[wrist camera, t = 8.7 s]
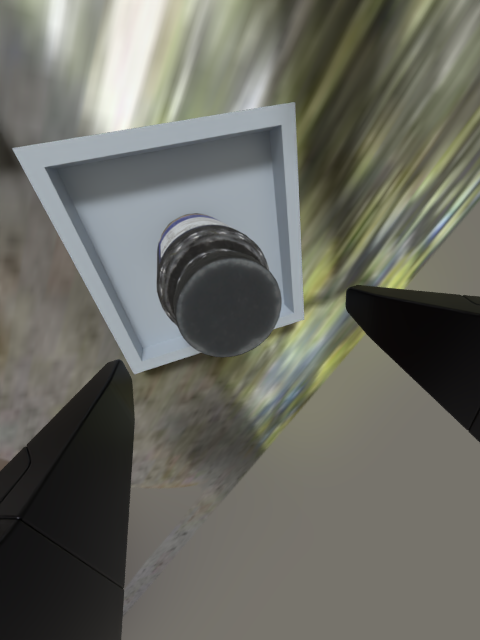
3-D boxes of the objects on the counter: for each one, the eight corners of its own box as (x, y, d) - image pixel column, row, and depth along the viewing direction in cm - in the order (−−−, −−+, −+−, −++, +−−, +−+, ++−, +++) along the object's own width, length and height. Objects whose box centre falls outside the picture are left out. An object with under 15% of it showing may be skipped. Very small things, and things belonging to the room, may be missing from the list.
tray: (278, 111, 17) (294, 101, 15) (292, 308, 26) (304, 319, 24) (32, 153, 15) (11, 148, 13) (136, 356, 23) (134, 374, 21)
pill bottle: (225, 293, 22) (274, 372, 13) (153, 284, 20) (149, 371, 11) (241, 221, 20) (317, 254, 10) (161, 202, 17) (165, 222, 8)
